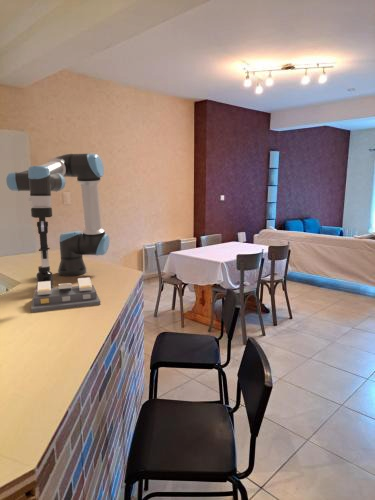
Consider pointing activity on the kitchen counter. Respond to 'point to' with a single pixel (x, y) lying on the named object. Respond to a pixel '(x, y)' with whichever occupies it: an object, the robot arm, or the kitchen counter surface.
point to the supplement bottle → (44, 275)
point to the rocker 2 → (65, 285)
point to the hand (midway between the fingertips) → (45, 266)
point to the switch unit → (64, 299)
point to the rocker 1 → (44, 288)
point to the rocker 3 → (84, 284)
